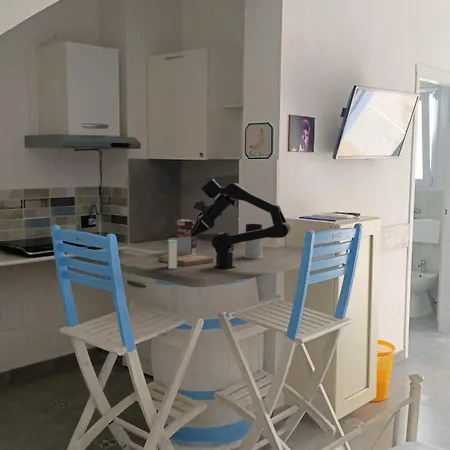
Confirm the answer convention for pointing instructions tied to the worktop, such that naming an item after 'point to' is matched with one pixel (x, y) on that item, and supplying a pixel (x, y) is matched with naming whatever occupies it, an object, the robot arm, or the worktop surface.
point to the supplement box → (187, 232)
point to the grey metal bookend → (182, 246)
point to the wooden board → (189, 259)
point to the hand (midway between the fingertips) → (191, 234)
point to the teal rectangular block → (172, 254)
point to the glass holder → (253, 243)
